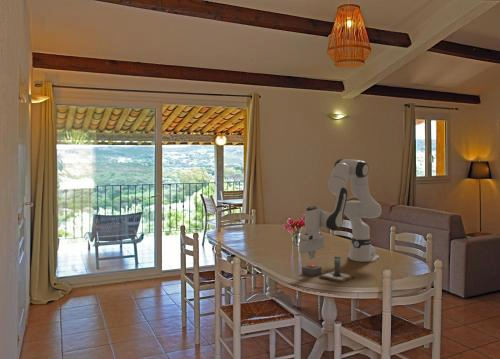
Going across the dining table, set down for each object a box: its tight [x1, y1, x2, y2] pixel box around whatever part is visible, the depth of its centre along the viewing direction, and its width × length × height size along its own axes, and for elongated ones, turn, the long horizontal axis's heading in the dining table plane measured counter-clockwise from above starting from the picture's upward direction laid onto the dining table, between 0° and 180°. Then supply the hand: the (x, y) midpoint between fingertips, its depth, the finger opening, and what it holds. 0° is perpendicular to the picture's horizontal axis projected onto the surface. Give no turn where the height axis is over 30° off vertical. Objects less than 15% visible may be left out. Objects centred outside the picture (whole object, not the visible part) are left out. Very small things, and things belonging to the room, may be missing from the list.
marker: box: [333, 256, 342, 276], centre depth 240 cm, size 3×3×10 cm
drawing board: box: [318, 270, 355, 284], centre depth 241 cm, size 14×14×2 cm
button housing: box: [301, 264, 322, 277], centre depth 248 cm, size 8×8×4 cm
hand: (312, 258), depth 249 cm, fingers closed
